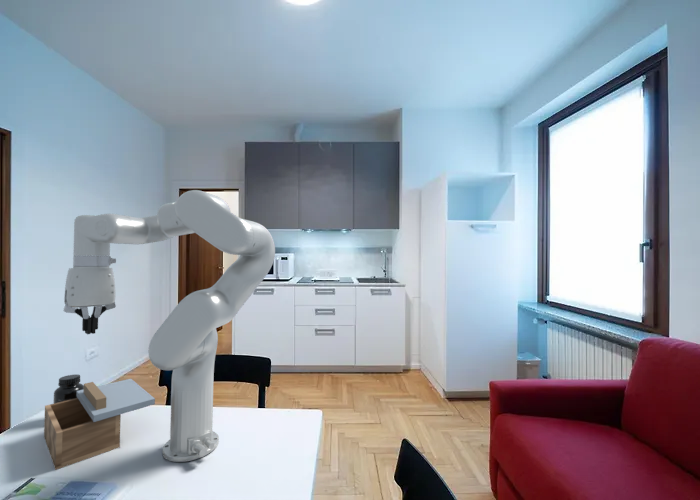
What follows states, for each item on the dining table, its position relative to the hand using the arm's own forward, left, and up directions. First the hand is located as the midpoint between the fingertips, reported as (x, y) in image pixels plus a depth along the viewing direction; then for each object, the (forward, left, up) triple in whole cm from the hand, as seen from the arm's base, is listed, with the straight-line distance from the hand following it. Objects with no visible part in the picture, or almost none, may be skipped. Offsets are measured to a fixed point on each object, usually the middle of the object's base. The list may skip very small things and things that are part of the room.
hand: (90, 333), depth 86 cm
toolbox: (0, +1, -27) cm, 27 cm away
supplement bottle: (+17, +1, -28) cm, 33 cm away
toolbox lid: (0, -6, -19) cm, 20 cm away
